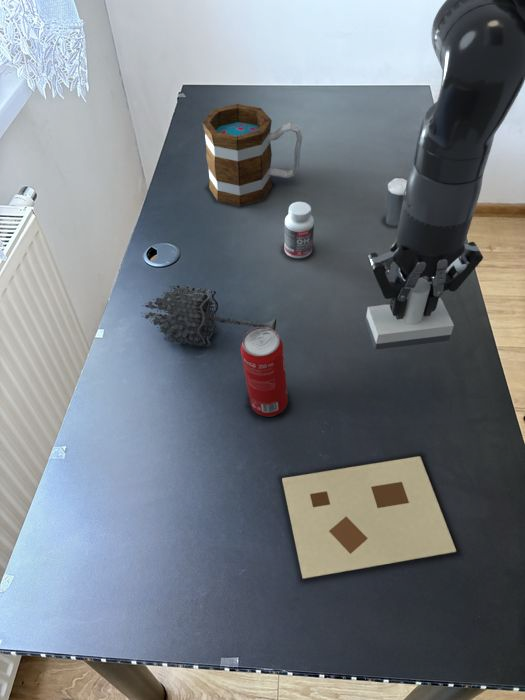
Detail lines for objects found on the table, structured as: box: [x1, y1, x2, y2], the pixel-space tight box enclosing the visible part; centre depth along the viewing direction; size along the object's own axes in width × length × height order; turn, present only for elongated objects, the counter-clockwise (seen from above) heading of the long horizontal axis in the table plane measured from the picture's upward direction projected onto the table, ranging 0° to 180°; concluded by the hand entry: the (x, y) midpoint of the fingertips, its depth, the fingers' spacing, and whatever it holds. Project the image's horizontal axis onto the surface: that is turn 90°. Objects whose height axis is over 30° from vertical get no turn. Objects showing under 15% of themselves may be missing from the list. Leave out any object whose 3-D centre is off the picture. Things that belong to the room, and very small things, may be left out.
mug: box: [202, 103, 303, 207], centre depth 122 cm, size 20×14×15 cm
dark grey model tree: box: [140, 284, 277, 347], centre depth 97 cm, size 9×22×9 cm, turn 79°
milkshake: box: [385, 177, 407, 227], centre depth 115 cm, size 4×5×10 cm
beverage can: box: [240, 326, 289, 417], centre depth 86 cm, size 6×6×15 cm
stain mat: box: [281, 455, 457, 580], centre depth 80 cm, size 20×14×1 cm
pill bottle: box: [283, 201, 315, 259], centre depth 110 cm, size 5×5×10 cm
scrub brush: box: [365, 277, 455, 351], centre depth 76 cm, size 10×5×8 cm, turn 98°
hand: (411, 312), depth 77 cm, fingers closed on scrub brush, 3 cm apart
